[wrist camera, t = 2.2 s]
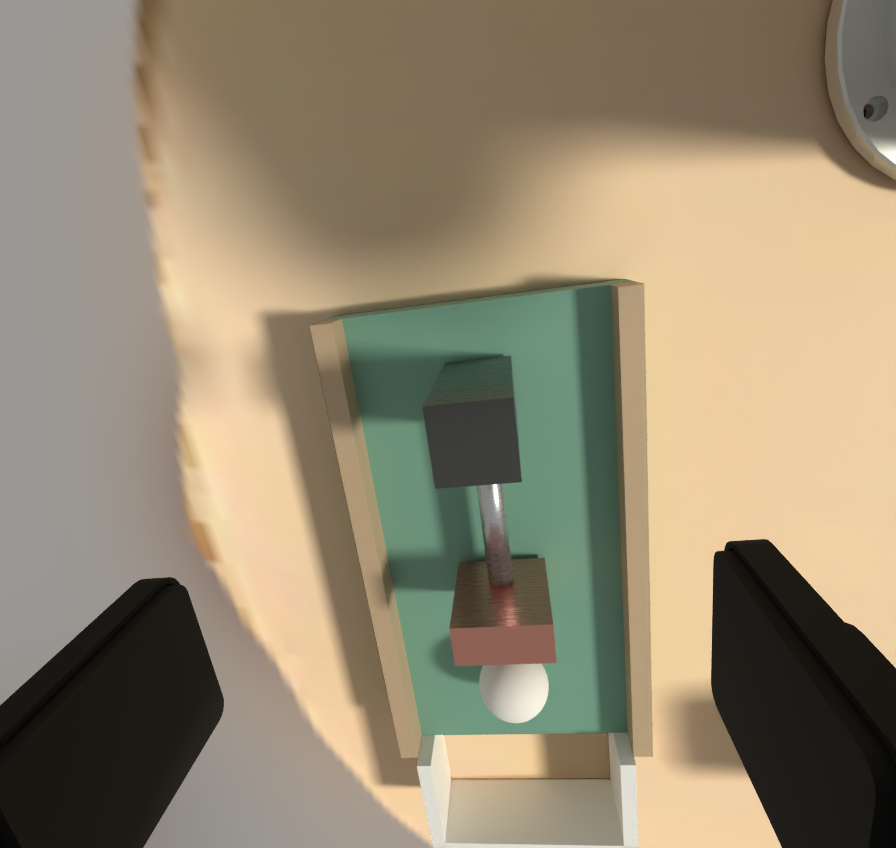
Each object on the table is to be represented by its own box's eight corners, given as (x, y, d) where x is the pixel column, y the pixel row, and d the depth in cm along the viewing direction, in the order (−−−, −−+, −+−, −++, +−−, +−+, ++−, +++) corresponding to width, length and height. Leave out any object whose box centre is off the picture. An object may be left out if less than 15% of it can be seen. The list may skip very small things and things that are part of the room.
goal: (426, 707, 34) (416, 766, 30) (620, 703, 32) (635, 765, 28) (441, 788, 36) (434, 852, 32) (623, 788, 34) (638, 855, 30)
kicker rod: (429, 364, 24) (401, 408, 17) (526, 353, 23) (535, 394, 17) (463, 595, 28) (450, 703, 21) (547, 591, 27) (561, 701, 21)
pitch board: (334, 316, 26) (309, 326, 23) (624, 278, 24) (643, 283, 21) (411, 708, 34) (400, 758, 30) (637, 703, 32) (652, 756, 28)
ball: (477, 632, 29) (473, 684, 25) (543, 630, 28) (548, 682, 25) (484, 684, 30) (481, 740, 27) (548, 683, 29) (554, 740, 26)
